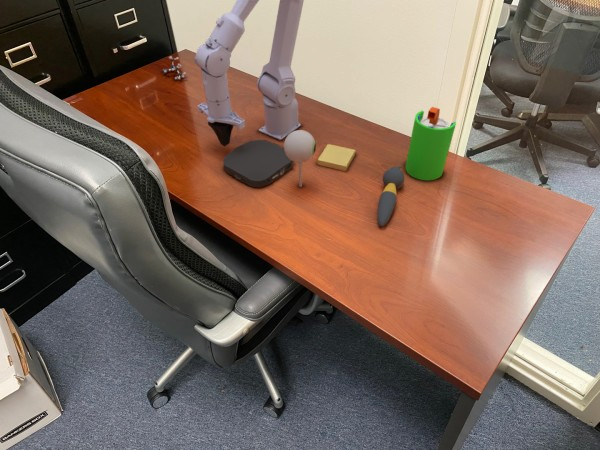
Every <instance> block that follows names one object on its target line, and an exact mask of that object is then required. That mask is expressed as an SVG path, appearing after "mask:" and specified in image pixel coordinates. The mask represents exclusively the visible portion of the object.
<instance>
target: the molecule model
mask: <svg viewBox="0 0 600 450" xmlns="http://www.w3.org/2000/svg"><path fill="white" fill-rule="evenodd" d="M168 59H169V60H170V61H171V62H172V64H171V65H170V67H169V68H164V69H162V73H164V74H168V73H170V71H172V72H175V71H176V72H177V76H175V77H174V80H175V81H176V80H181V78H182V79H185V77H186V75H187V72H186V71H184V72H183V73H182V72H180V71H179V70H180V69H182V64H181V63H177V65H176V66H175V64H174V62H175V61H176V60H177V61H178V60H179V57H178V56H176V58H174V57H173V56H172V55H170V56H168Z"/></svg>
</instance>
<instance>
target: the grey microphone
mask: <svg viewBox="0 0 600 450" xmlns="http://www.w3.org/2000/svg"><path fill="white" fill-rule="evenodd" d="M401 169H402V166H392V167H389V168H388V169H387V170H385V172H384V173H383V175H382V184H383V186H384V189H383V191H382V192H381V194H380V196H379V200H378V205H377V223H378V225H379V226H380V227H384V226H385V225H386V224H387V223H388V222H389V220H390V218H391V216H392V214H393V212H394V209H395V206H396V203H397V196H398V195H397V190H398V189H400V188H401V187H402V186H403V184H404V182H405V174H404V173H403V171H402V170H401Z"/></svg>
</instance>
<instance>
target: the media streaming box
mask: <svg viewBox="0 0 600 450" xmlns="http://www.w3.org/2000/svg"><path fill="white" fill-rule="evenodd" d="M293 162H294V161H292V160H290V159H289V158H288V156H287V155H286V153H285V150H284V147H282V146H280V145H279V144H277V143H274V142H272V141H269V140H266V139H252V140H249V141H246V142H244V143H242V144H240V145H238V146H236V147H235V148H234V149H232V150H231V151H230V152H229V153H227V154H226V155H225V156H224V157H223V160H222V164H223V169H224V171H225V172H226V174H228V175H230V176H231V177H233V178H235V179H236V180H238V181H240V182H241V183H243V184H245V185H248V186H250V187H253V188H262V187H266V186H268V185H269V184H271V183H273V182H275V181H276V180H278V179H279V178H281V177H282V176H283V175H284V174H286V173H287V172H288V171H289V170H291V169H292V167H293V165H294V163H293Z"/></svg>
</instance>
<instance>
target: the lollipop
mask: <svg viewBox="0 0 600 450" xmlns="http://www.w3.org/2000/svg"><path fill="white" fill-rule="evenodd" d="M283 148H284V150H285V153H286V155H287V156H288V158H289V159H290V160H292V161H293V162H294V163H298V186H299V188H302V187H303V164H302V163H306V162H308V161H310V160H311V159H312V158H313V157H314V155H315V153H316V148H317V143H316V140H315V138H314V136H313V135H312V134H311V133H310V132H308V131H307V130H304V129H298V130H297V129H296V130H294V131H293V132H291V133H290V134H288V135H287V136H286V137H285V140H284V143H283Z"/></svg>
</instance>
